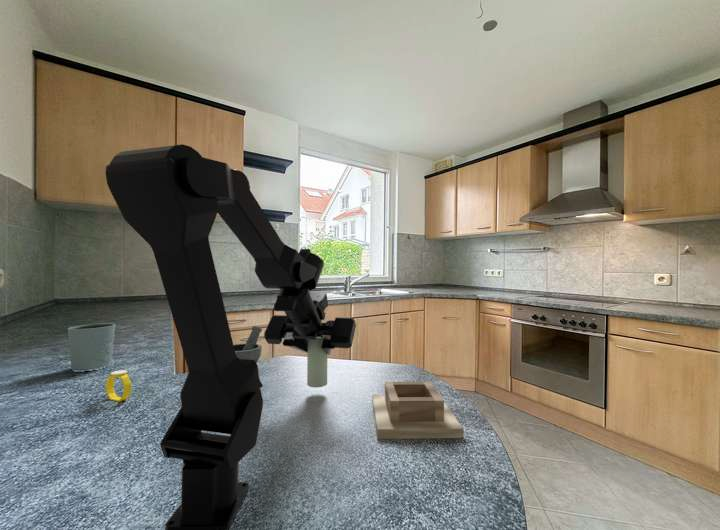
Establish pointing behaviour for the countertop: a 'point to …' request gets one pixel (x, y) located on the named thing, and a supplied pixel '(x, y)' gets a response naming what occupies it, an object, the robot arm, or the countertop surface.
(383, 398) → the socket base
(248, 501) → the countertop surface
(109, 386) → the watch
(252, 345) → the mortar and pestle
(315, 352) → the post
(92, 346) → the grey plant pot
